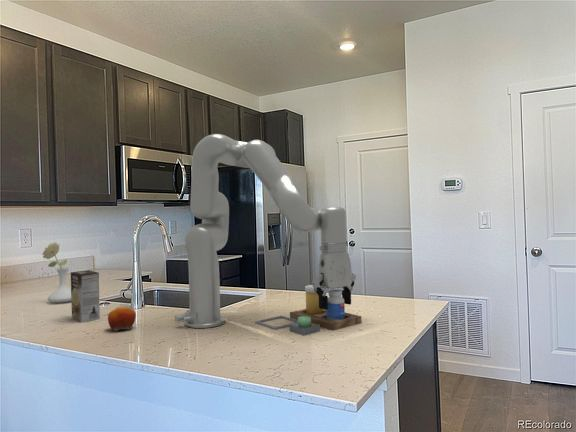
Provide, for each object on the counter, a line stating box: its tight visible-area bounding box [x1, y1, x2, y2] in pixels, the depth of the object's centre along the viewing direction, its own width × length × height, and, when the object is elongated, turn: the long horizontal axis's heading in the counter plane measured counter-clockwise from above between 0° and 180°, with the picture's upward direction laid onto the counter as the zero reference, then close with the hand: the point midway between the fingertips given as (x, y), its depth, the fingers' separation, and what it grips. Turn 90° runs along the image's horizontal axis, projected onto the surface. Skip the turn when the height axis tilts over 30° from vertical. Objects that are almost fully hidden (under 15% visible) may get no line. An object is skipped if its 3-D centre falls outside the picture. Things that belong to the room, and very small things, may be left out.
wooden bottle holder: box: [289, 308, 362, 331], centre depth 131 cm, size 12×19×3 cm, turn 39°
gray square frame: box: [254, 315, 298, 331], centre depth 129 cm, size 10×10×2 cm
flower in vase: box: [42, 241, 71, 303], centre depth 177 cm, size 13×11×25 cm
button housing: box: [289, 322, 321, 336], centre depth 119 cm, size 6×6×3 cm
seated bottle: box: [304, 284, 322, 315], centre depth 134 cm, size 5×5×10 cm
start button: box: [298, 316, 311, 326], centre depth 119 cm, size 4×4×2 cm
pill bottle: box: [326, 288, 346, 321], centre depth 127 cm, size 6×5×10 cm
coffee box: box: [70, 270, 101, 323], centre depth 146 cm, size 9×6×16 cm
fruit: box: [107, 306, 137, 332], centre depth 131 cm, size 8×8×8 cm
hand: (335, 306), depth 127 cm, fingers open, 9 cm apart
